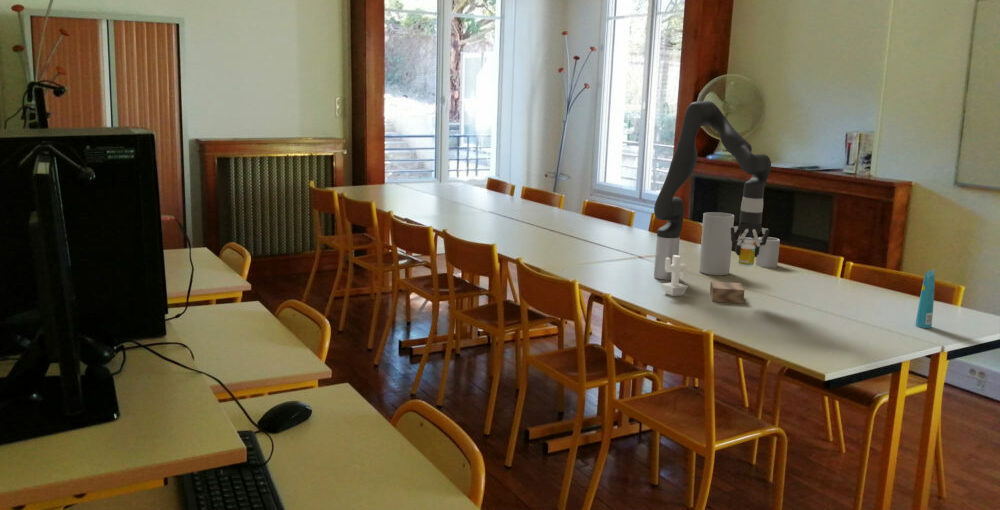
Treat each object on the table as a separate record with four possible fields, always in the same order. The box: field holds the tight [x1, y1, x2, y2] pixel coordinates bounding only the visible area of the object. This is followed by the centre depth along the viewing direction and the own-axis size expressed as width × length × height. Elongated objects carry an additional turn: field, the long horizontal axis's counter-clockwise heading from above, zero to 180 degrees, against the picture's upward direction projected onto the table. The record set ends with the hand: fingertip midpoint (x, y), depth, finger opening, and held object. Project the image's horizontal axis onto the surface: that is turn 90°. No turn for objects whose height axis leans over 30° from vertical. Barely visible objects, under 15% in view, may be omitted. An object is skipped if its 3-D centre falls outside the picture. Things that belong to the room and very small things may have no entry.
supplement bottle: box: [737, 237, 756, 267], centre depth 302 cm, size 5×5×10 cm
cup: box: [755, 236, 781, 269], centre depth 370 cm, size 9×9×12 cm
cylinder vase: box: [698, 211, 735, 277], centre depth 351 cm, size 12×12×25 cm
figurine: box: [661, 255, 689, 297], centre depth 313 cm, size 7×9×15 cm
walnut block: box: [709, 281, 745, 304], centre depth 309 cm, size 11×11×5 cm
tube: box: [915, 269, 936, 329], centre depth 277 cm, size 7×5×19 cm, turn 140°
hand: (746, 255), depth 302 cm, fingers closed on supplement bottle, 5 cm apart
